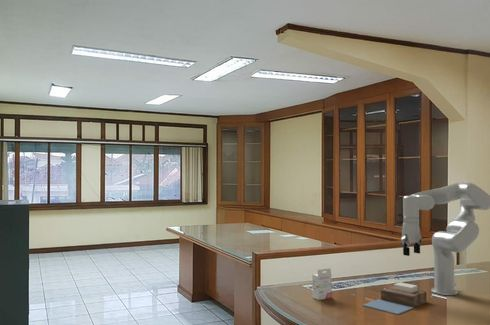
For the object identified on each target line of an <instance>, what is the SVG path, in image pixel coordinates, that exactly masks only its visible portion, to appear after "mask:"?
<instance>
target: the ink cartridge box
mask: <svg viewBox="0 0 490 325" xmlns="http://www.w3.org/2000/svg"><path fill="white" fill-rule="evenodd" d="M311 276H312V277H311V278H312V281H311V282H312V283H311V285H312V298H313V299H315V300H318V301H320V300H321V301H322V300H326V299H332V298H333V294H332V291H333V290H332V289H333V288H332V287H333V286H332V284H333V283H332V269H331V267H329V268H323V269H322V268H321V269H317V273H314V274H311Z"/></svg>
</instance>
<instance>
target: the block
mask: <svg viewBox="0 0 490 325" xmlns="http://www.w3.org/2000/svg"><path fill="white" fill-rule="evenodd" d="M393 286H394V289H395V290H399V291H404V292H409V293H413V292H416V291H417V290H418V285H416V284H411V283H405V282H401V281H400V282H397V283H393Z"/></svg>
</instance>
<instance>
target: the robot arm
mask: <svg viewBox="0 0 490 325" xmlns="http://www.w3.org/2000/svg"><path fill="white" fill-rule="evenodd" d="M458 200H459V204H460V205H459V207H460V210H459V213H457V215H456V216H455V217H454V218H453V219H452V220H451V221H450V222H449V223H448V224H447V226H446V231H445V230H444V231H443V230H439V231H436V232H434V233H433V234H432V238H431V244H432V245H431V246H432V250H433V257H434V258H433V262H434V263H433V266H434V267H433V275H434V283H433V284H434V287H432V288H431V290H430V291H431V292H432V293H434V294H435V295H436V294H437V295H443V296H456V295H458V294H459V291H458V290H457V289H455V287H456V286H457V283H456V282H455V257H454V254H453V253H462V252H464V251H466V249H467V248H469V246H470V245H472V243H473V242H474V241H475V240H476V239H477V237H478V236H479V234H480V227H479V224H477V223H476V222H475V221H476V215H475V212H474V210H481V211H487V210H490V194H489V193H487V192H486V191H485V190H483V188H481V187H480V186H478V185H476V184H474V183H472V182H455V183H452V184H449V185H446V186H442V187H438V188H433V189H427V190H422V191H420V192H419V191H418V192H415V193H413V194H410V195H404V196H402V212H403V213H402V216H403V218H402V221H403V222H402V227H401V239H400V243H401V245H402V254H403V256H407V257H409V256H410V254H411V253H410V252H411V251H410V245H411V244H413V254H421V243H422V238H423V237H422V235H421V230H420V229H421V228H420V210H423V211H429V210H432V209H433V208H434V206H435V205H444V204H448V203H451V202H455V201H458Z"/></svg>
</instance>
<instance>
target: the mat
mask: <svg viewBox="0 0 490 325" xmlns="http://www.w3.org/2000/svg"><path fill="white" fill-rule="evenodd" d="M362 307H365V308H371V309H373V310H378V311H381V312H385V313H389V314H393V315H397V316H398V315H401V314H404V313H406V312H409V311H412V310H413V309H415V308H414V307H410V306H406V305H401V304H397V303H393V302H389V301H384V300H381V298H380V299H379V298H378V299H376V300H375V299H374V300H371V301H369V302H367V303H364V304H362Z"/></svg>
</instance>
